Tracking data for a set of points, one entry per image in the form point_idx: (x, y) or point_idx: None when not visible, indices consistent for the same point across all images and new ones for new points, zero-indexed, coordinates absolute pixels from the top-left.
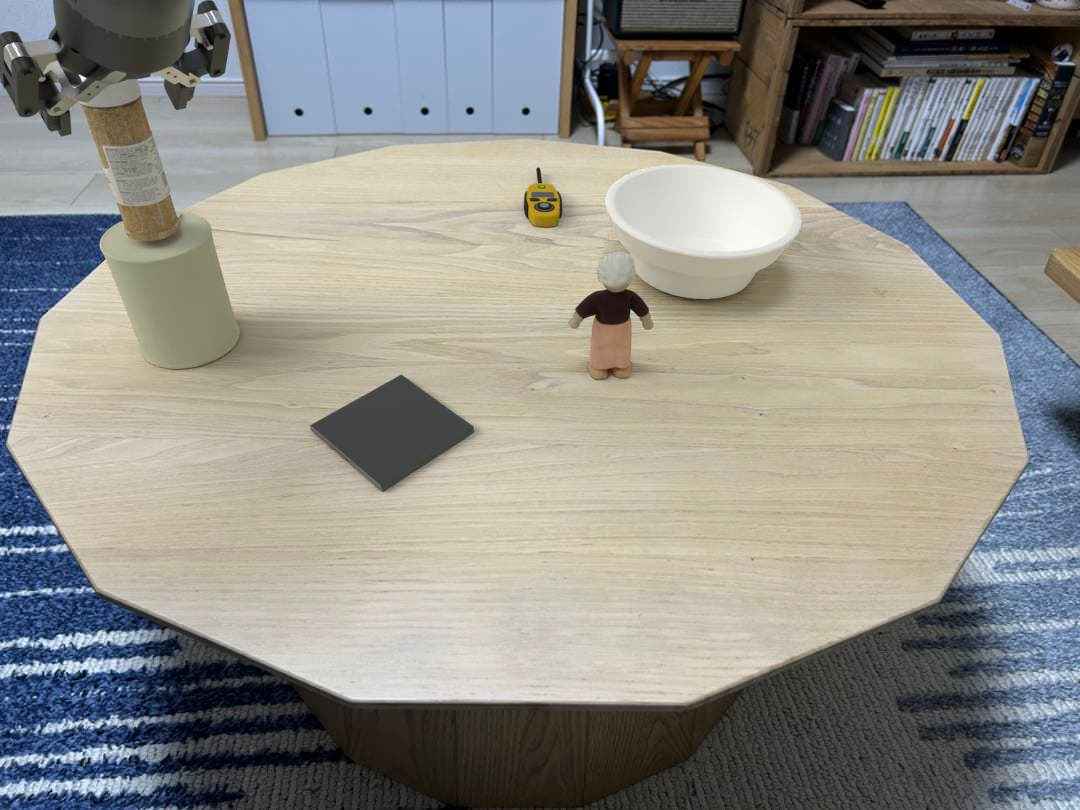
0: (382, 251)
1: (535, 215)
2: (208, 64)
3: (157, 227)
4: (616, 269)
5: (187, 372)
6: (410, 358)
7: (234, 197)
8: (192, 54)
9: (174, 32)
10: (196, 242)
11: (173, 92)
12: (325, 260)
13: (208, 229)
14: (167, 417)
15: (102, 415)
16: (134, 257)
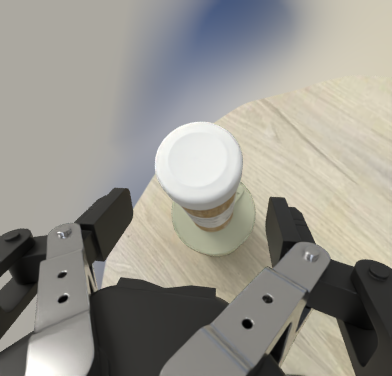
0: (381, 219)
1: None
2: (347, 338)
3: (207, 229)
4: None
5: (199, 254)
6: (325, 359)
7: (317, 89)
8: (334, 292)
9: None
10: (231, 243)
11: (270, 232)
12: (334, 201)
13: (249, 231)
14: (170, 286)
15: (147, 256)
16: (184, 231)
